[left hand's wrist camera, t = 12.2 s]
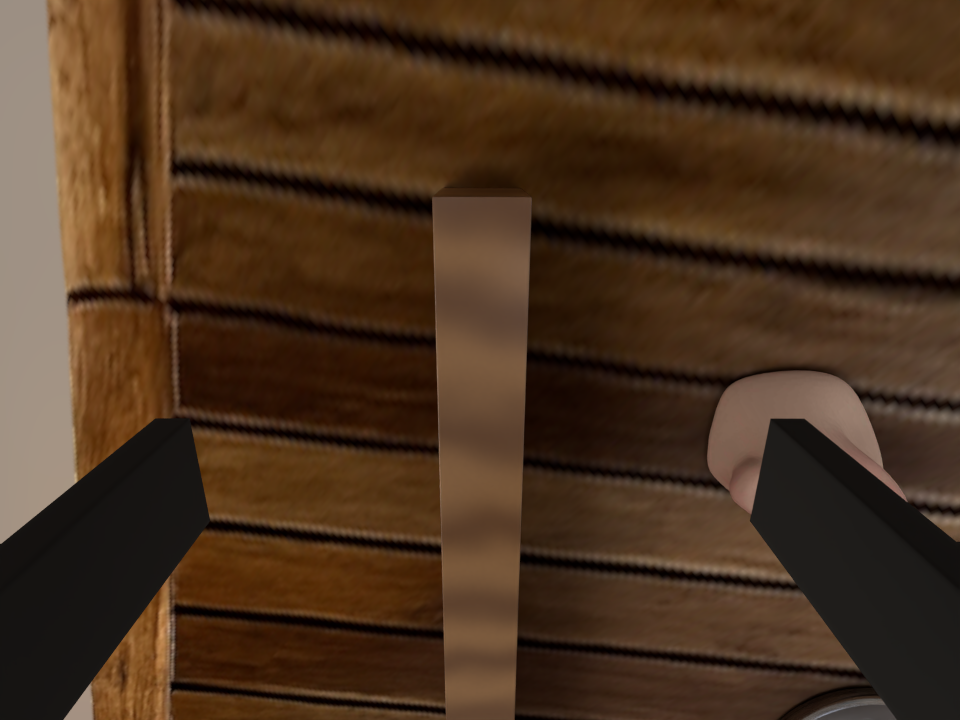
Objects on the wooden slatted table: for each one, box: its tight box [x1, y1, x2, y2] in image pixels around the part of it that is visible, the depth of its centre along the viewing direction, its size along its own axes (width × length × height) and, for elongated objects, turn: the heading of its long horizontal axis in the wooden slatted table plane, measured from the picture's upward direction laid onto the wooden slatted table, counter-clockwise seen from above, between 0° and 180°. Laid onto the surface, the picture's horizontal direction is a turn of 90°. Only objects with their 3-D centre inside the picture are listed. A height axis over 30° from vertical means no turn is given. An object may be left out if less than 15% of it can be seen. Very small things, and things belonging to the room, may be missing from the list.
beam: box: [432, 188, 532, 720], centre depth 38 cm, size 47×5×7 cm, turn 0°
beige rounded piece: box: [707, 370, 907, 514], centre depth 37 cm, size 13×4×12 cm
